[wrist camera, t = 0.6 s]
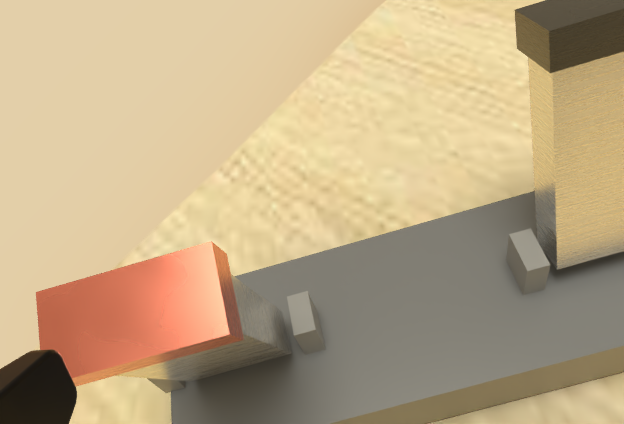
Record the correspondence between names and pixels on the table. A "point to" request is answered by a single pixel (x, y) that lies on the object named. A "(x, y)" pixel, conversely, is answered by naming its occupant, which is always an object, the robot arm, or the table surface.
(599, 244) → the cream dark-capped block
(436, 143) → the table surface
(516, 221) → the switch box
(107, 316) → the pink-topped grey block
